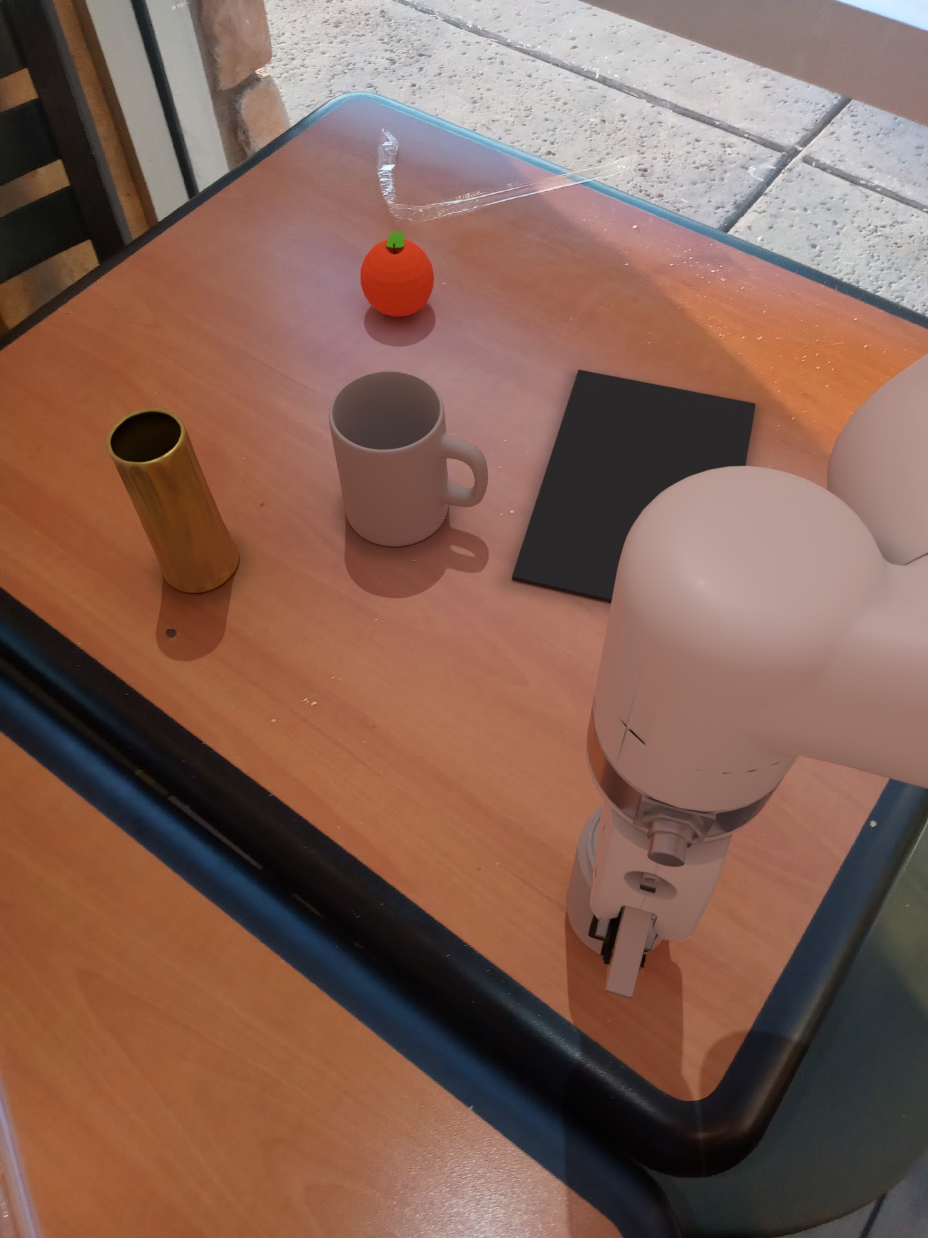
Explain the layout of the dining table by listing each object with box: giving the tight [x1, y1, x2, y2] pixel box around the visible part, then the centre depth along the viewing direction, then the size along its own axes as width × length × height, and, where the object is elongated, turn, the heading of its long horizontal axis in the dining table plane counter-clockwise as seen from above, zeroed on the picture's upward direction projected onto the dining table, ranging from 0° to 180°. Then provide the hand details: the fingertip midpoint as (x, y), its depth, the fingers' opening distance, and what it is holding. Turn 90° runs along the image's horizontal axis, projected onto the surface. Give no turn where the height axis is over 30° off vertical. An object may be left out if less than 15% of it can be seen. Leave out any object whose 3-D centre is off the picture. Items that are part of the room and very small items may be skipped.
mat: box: [511, 369, 756, 603], centre depth 76 cm, size 24×16×1 cm, turn 164°
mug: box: [328, 369, 489, 548], centre depth 70 cm, size 12×8×11 cm
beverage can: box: [565, 804, 664, 955], centre depth 51 cm, size 6×6×12 cm
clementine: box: [359, 230, 435, 318], centre depth 85 cm, size 8×7×7 cm
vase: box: [105, 407, 240, 594], centre depth 66 cm, size 6×6×14 cm
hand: (630, 874), depth 50 cm, fingers closed on beverage can, 6 cm apart
